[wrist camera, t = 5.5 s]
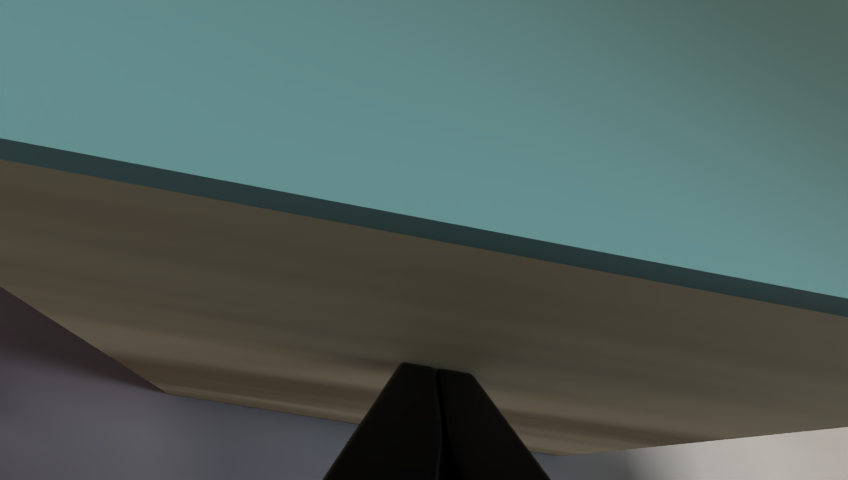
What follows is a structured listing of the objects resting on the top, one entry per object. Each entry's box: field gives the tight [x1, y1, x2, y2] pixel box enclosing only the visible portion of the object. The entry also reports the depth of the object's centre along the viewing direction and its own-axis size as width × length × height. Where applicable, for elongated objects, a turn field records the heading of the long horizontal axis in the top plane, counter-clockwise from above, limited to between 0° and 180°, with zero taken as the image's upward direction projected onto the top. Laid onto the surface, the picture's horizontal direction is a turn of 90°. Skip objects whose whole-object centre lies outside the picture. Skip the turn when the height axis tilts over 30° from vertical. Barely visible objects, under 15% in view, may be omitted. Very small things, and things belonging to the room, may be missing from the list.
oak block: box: [0, 0, 848, 456], centre depth 11 cm, size 5×9×13 cm, turn 81°
